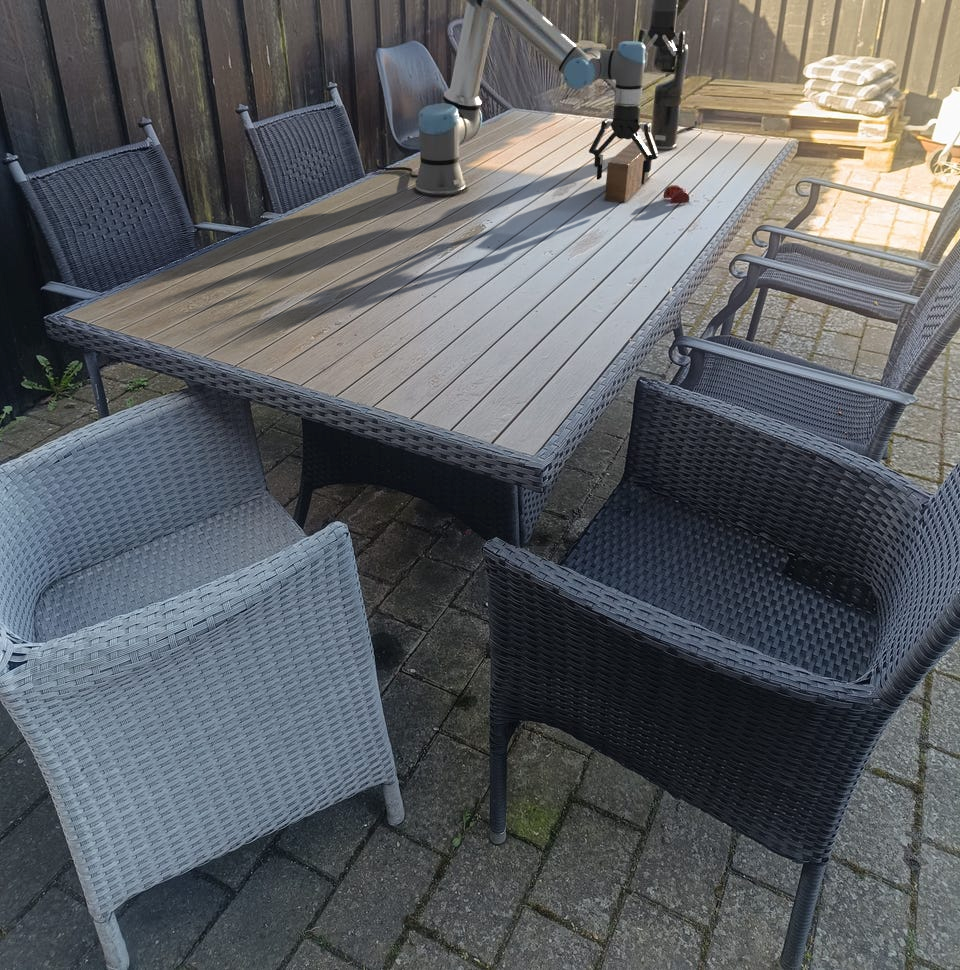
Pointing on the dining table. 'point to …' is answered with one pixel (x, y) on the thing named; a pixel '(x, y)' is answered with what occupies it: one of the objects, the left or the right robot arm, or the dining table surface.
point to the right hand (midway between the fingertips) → (658, 67)
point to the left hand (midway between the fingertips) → (621, 180)
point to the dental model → (676, 194)
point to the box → (625, 173)
